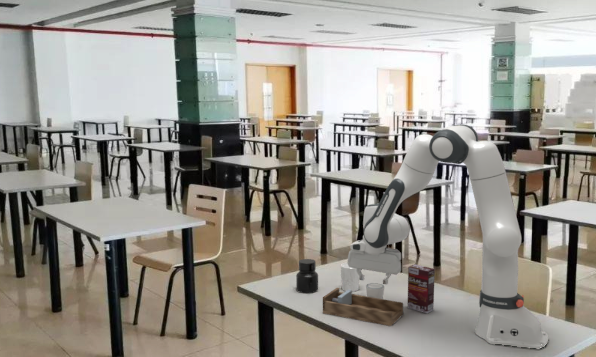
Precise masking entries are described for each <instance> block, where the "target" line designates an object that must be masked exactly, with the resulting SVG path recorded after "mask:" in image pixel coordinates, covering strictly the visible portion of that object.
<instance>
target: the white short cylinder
mask: <svg viewBox="0 0 596 357" xmlns="http://www.w3.org/2000/svg"><path fill="white" fill-rule="evenodd" d="M365 288H366V289H365V290H366V296H367V297H373V298H379V299H384V292H385V284H383V283H377V282H375V283H374V282H371V283H367V284H366V285H365Z"/></svg>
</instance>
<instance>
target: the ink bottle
mask: <svg viewBox="0 0 596 357" xmlns="http://www.w3.org/2000/svg"><path fill="white" fill-rule="evenodd" d="M295 277H296V281H295V282H296V291H297V292H298V293H303V294H308V293H309V294H310V293H312V294H313V293H315V292H317V291H318V290H319V274H318V272H317V271H316V260H315V259H311V258H303V259H300V260H298V272H296V276H295Z"/></svg>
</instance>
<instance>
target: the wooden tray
mask: <svg viewBox="0 0 596 357" xmlns="http://www.w3.org/2000/svg"><path fill="white" fill-rule="evenodd" d="M343 293H344V292H342V291H340V287H336V288H334V289H333V290H331V291H330V292H329V293H326V294H325V295H324V296H322V314H325V315H330V316H335V317H341V318H346V319H352V320H358V321H361V322H368V323H373V324H379V325H384V326H388V327H392V326H393V325H394V324H395V323H396V322H398V320H399V319H400V318H401V317H402V316H403V314H404V303H403V302H401V301H396V300H389V299H384V298H383V299H379V298H373V297H367V295H360V294H355V293H352V304H351V305H347V304H341V303H336V302H332V299H333V298H337V299H338V296H340V295H341V294H343Z"/></svg>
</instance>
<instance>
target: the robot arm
mask: <svg viewBox="0 0 596 357" xmlns="http://www.w3.org/2000/svg"><path fill="white" fill-rule="evenodd" d="M439 162H440V163H445V164H446V163H447V164H456V165H461V164H464V165H465V167H466V168H467V172H468V175H469V176H468V177H469V181H470V183H471V184H470V185H471V189H472V193H473V194H472V195H473V198H474V201H475V206H476V211H477V216H478V219H479V220H478V221H479V223H480V229H481V233H482V234H481V235H482V255H481V256H482V260H481V262H482V263H481V264H482V265H481V289H480V290H479V298H478V299H479V300H478V304H479V312H478V318H477V322H476V325H475V329H474V333H475V334H476V336H478V337H480V338H481V339H483V340H485V341H486V342H487V343H488V344H490V345H495V344H502V345H501V346H504V345H512V346H517V347H516V348H521V347H530V348H540V347H543V346H544V345H545V344H546V343H547V342H548V343H549V341H548V338H549V335H548V333H547V332H545V330H544V331H543V330H542V325H541V321H540V319H539V317H538V316H536V315H535V314H534V313H533V312H532V311H531V310H529V309H528V308H527V307H526V306H524V304H525V302H524V300H525V298H524V297H525V296H524V294H522V295H521V293H518V285H519V249H520V246H521V244H522V233H521V229H520V225H519V222H518V218H517V213H516V209H515V206H514V201H513V197H512V193H511V189H510V186H509V185H510V184H509V181H508V180H509V179H508V177H507V171H506V168H505V165H504V160H503V159H502V156H501V153H500V151H499V149H498V146H497V145H496V144H495V143H494V142H492V141H489V140H481V141H480V140H479V136H478V133H477V132H476V130H475V128H474V127H472V126H470V125H467V124H456V125H449V126H447V127H445V128H443V129H441V130H438V131H437V132H435V133H434V134H433V135H431V134H426V133H423V134H418V136H416V137H415V138H414V139H413V141H412V142H411V144H410V145H409V148H408V150H407V152H406V154H405V156H404V158H403V161H402V163H401V166H400V168H399V169H398V171H397V173H396V174H395V175H394V178H393V179H392V181H391V182H389V185H388V186H387V188H386V190H385V191H384V193H383V195H382V197H381V198H380V201H379V202H378V203H372V204H368V205H366V206H365V209H364V211H363V212H364V213H363V221H362V225H363V226H362V227H363V235H362V239H360V240H356V241H354V242H352V243H351V244H350V245H349V249H350V250H349V251H348V255H347V263H348V266H349V267H351V268H357V273H358V275H359V281H364V280H365V274H363V273H362V270H364V271H371V272H377V273H383V274H385V278H383V279H382V285H388V284H389V279H390V278H391V276H392V275H396V276H397V275H398V274H400V273H401V271H402V263H401V262H402V261H401V260H402V253H401V252H400V250H398V249H397V248H392V247H387V245H393V244H396V243H399V242H403V241H405V240H406V239H407V238H408V237H409V235H410V230H411V229H410V224H409V221H408V220H407V218H406V217H404V216H402V215H399V214H397V213H396V212H397V209H398V207H399V206H400V205H401V204H402V203H403V201H404V200H406V199H408V198H410V197H411V196H413V195H414V194H417V193H419V192H421V191H423V190H425V189H426V187H427V186H428V185H429V184H430V182H431V180H432V178H433V177H434V175H435V174H434V173H435V171H436V168H437V166H438V164H439ZM541 344H542V345H541ZM512 346H511V347H512ZM530 348H529V349H530Z"/></svg>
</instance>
